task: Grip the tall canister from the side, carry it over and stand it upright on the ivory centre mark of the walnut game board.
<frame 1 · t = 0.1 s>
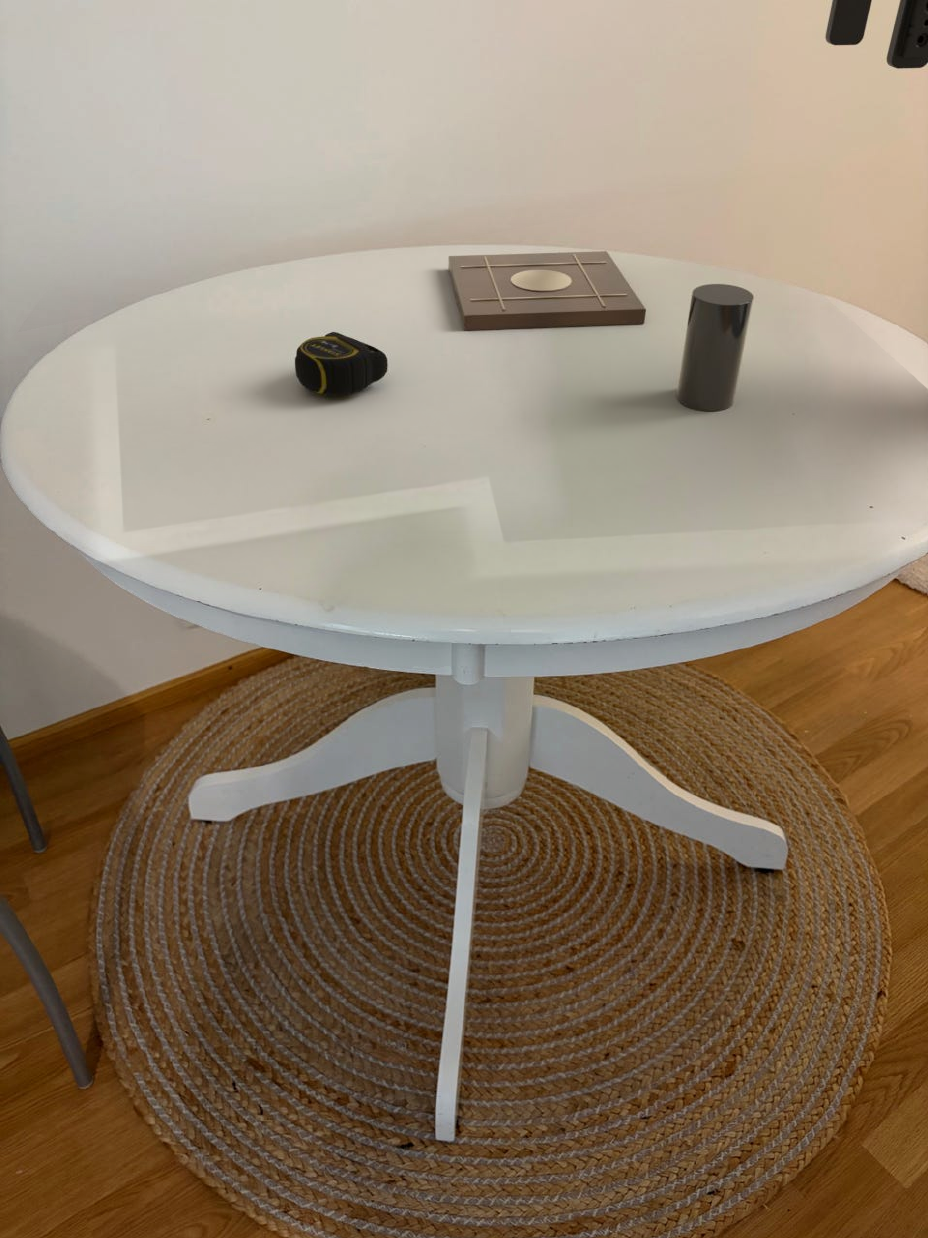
hand: (872, 54, 57), 27 cm above the table, tool pointing down, fingers open, 8 cm apart
board: (540, 294, 101), on the table
tape measure: (341, 385, 84), on the table
canister: (704, 398, 82), on the table
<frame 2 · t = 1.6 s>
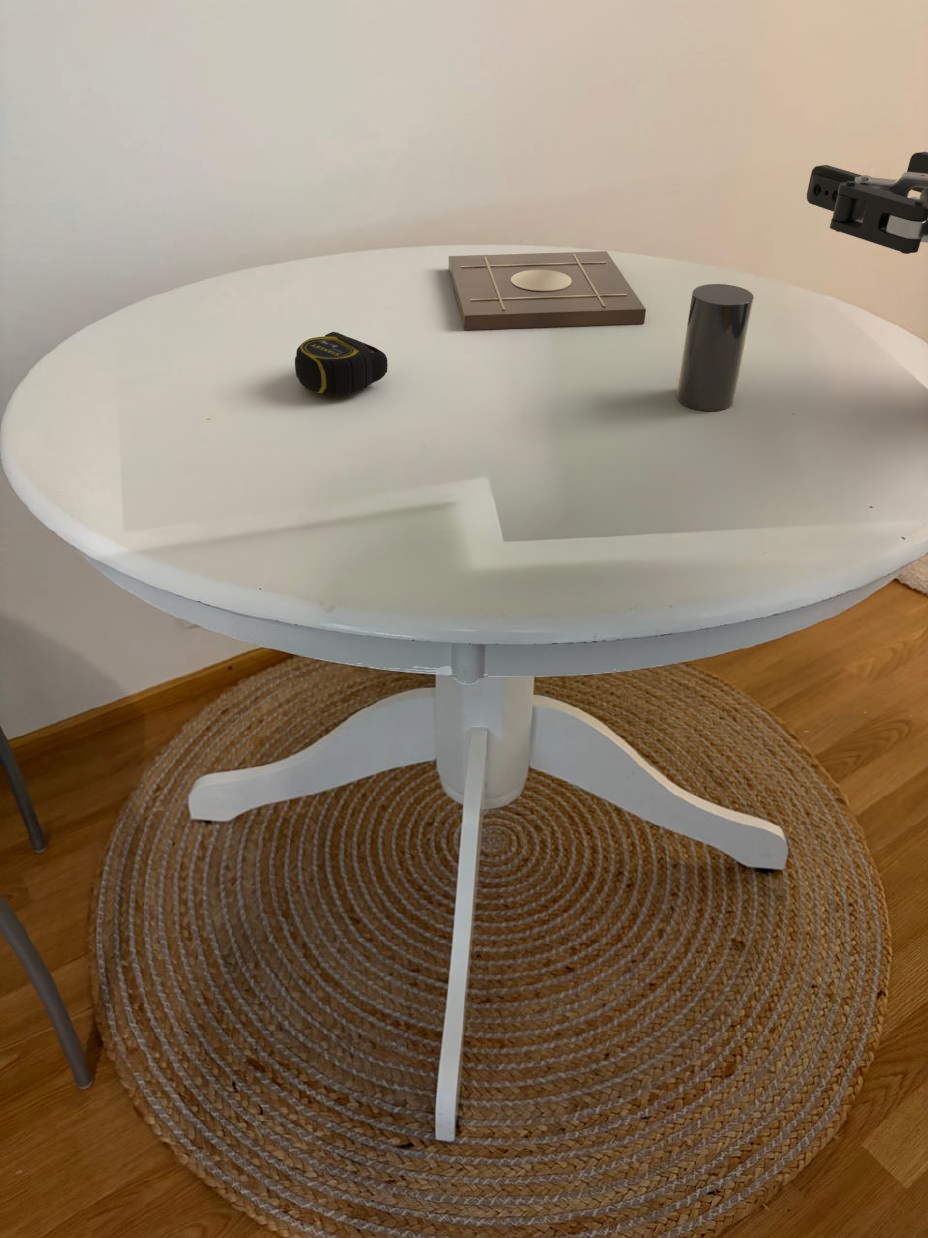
hand: (863, 175, 61), 20 cm above the table, tool horizontal, fingers open, 8 cm apart
nothing on the table moved.
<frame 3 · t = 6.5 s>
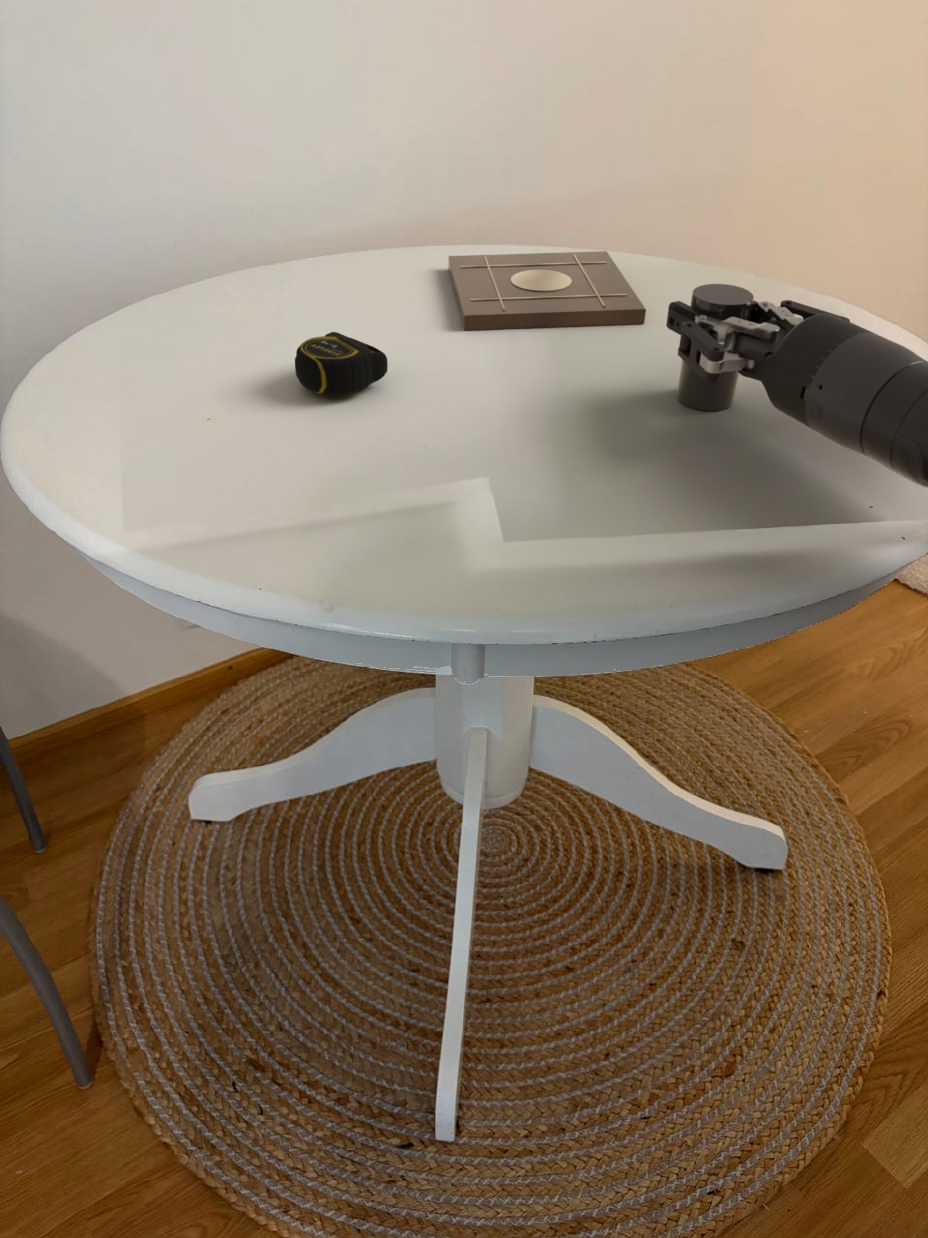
hand: (698, 307, 79), 7 cm above the table, tool horizontal, fingers closed on canister, 4 cm apart
canister: (704, 398, 82), on the table, touching gripper
everything else where it was.
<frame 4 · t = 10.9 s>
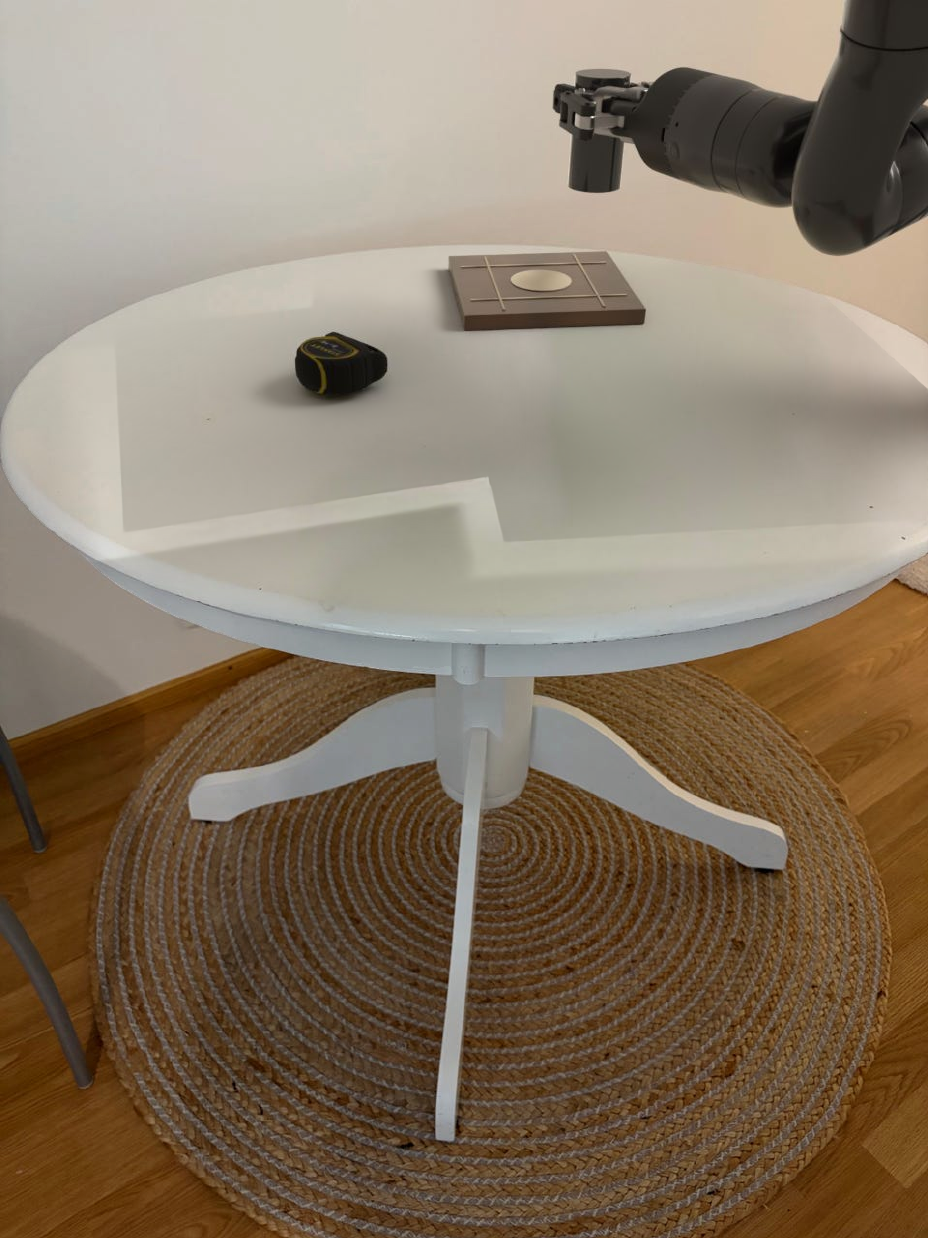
hand: (583, 94, 84), 20 cm above the table, tool horizontal, fingers closed on canister, 4 cm apart
canister: (594, 185, 87), point 13 cm above the table, touching gripper
everything else where it was.
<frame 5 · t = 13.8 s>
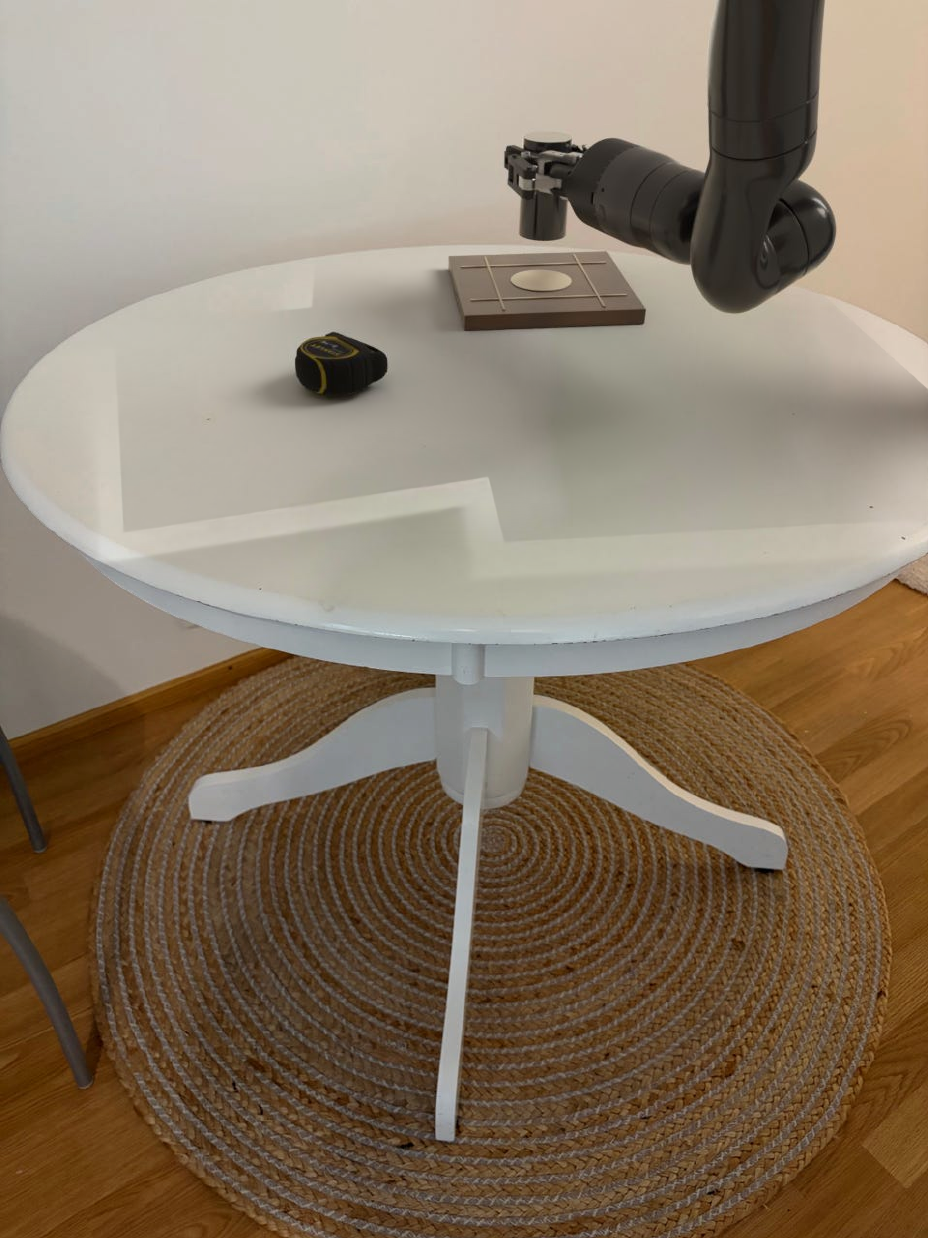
hand: (532, 153, 95), 13 cm above the table, tool horizontal, fingers closed on canister, 4 cm apart
canister: (542, 233, 97), point 6 cm above the table, touching gripper
everything else where it was.
when the fingers open (9 cm above the table, at t = 15.6 s): canister stays where it is, resting on board.
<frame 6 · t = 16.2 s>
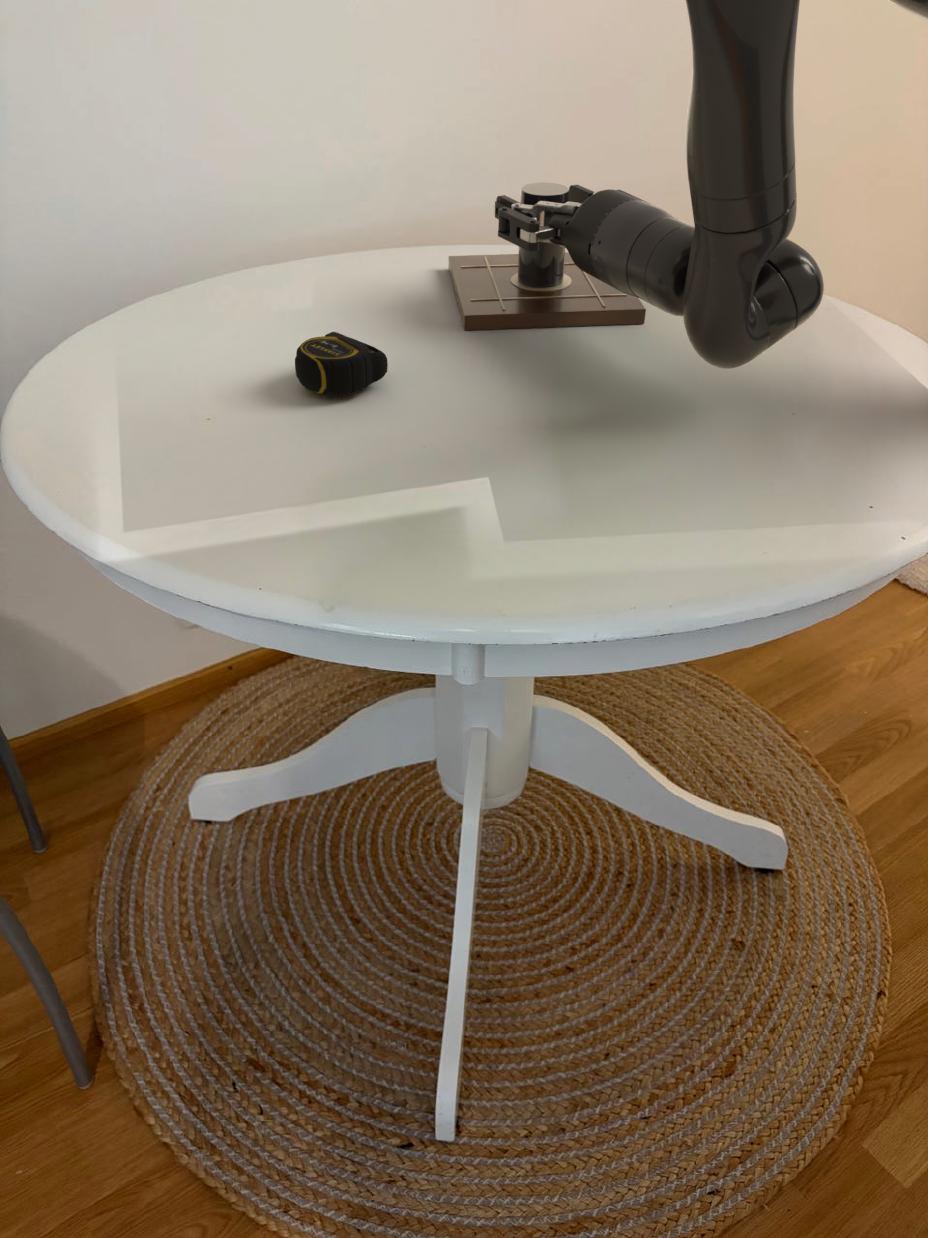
hand: (535, 200, 97), 9 cm above the table, tool horizontal, fingers open, 8 cm apart
canister: (540, 279, 100), point 2 cm above the table, touching board
everything else where it was.
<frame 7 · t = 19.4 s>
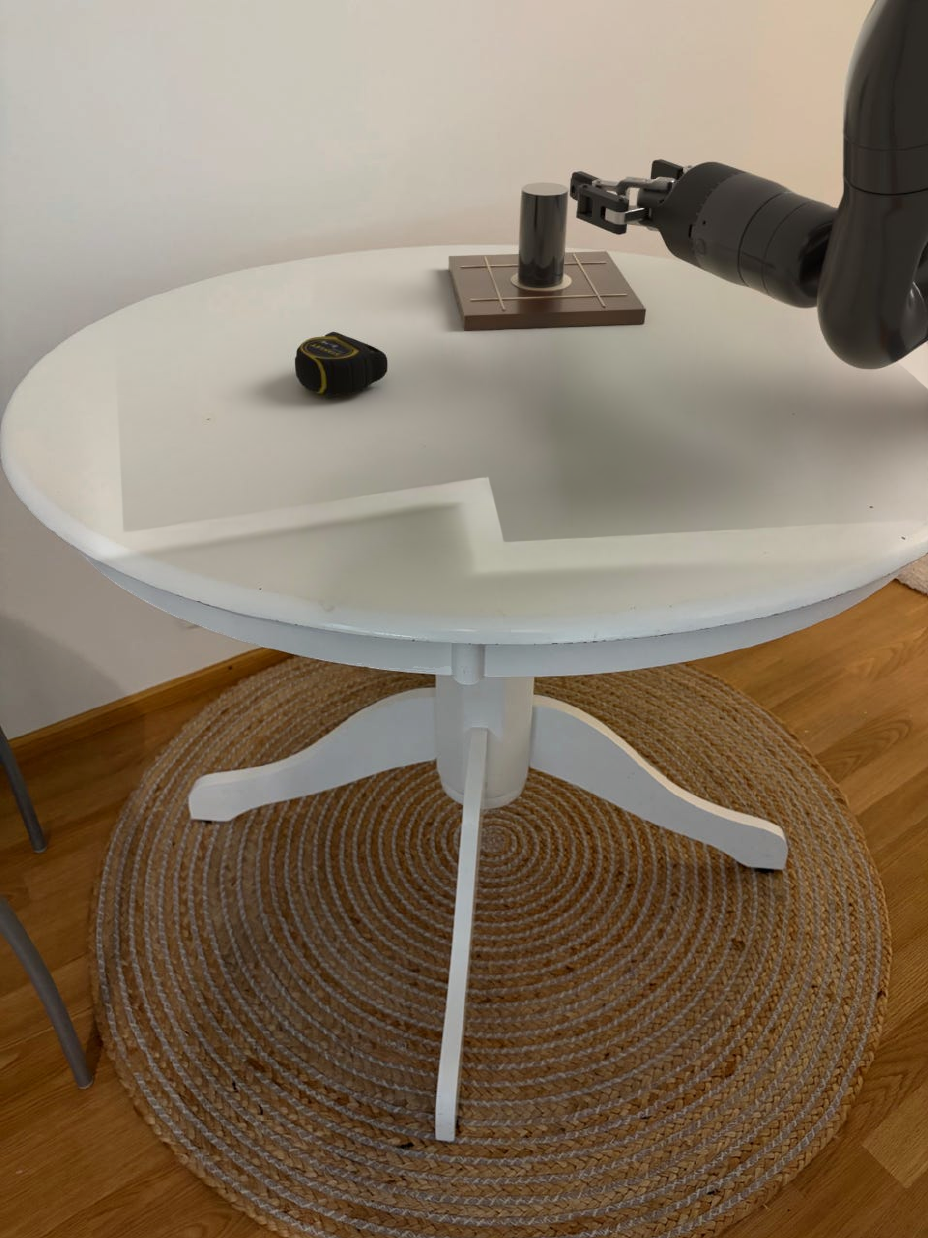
hand: (614, 177, 85), 14 cm above the table, tool horizontal, fingers open, 8 cm apart
nothing on the table moved.
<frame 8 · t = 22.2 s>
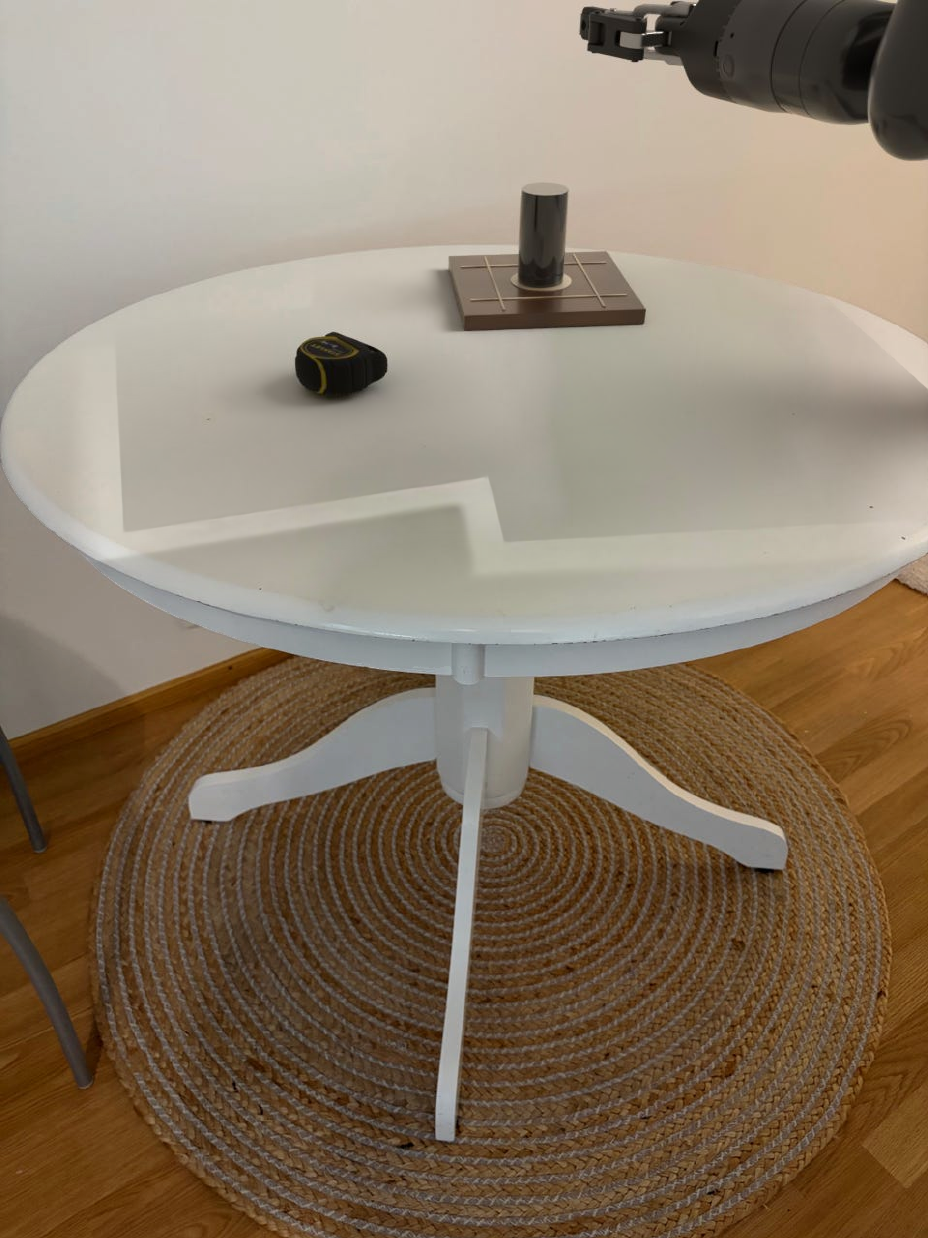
hand: (628, 18, 77), 26 cm above the table, tool horizontal, fingers open, 8 cm apart
nothing on the table moved.
at the end: canister 0.1 cm off-centre on the board, point 1.6 cm above the board's base; canister tilted 0°; the gripper is holding nothing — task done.
